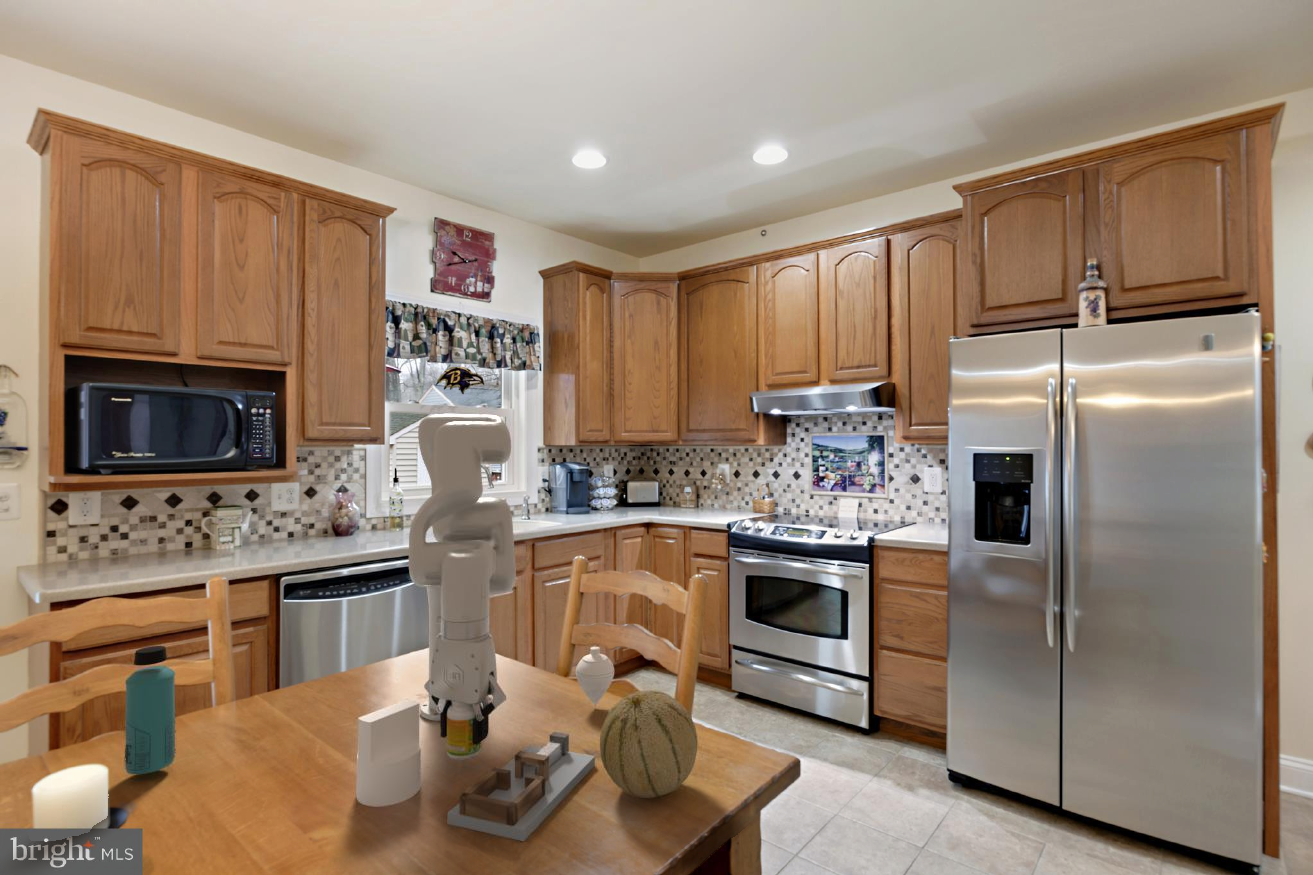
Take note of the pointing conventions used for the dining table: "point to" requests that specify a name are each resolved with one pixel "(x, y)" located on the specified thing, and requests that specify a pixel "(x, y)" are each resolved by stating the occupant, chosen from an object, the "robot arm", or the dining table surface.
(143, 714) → the beverage bottle
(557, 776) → the dock board
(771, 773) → the dining table surface
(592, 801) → the dining table surface
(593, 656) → the spinning top
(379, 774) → the cylinder with rectangular tab
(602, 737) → the cantaloupe
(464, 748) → the supplement bottle
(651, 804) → the dining table surface
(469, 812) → the socket
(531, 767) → the pin
